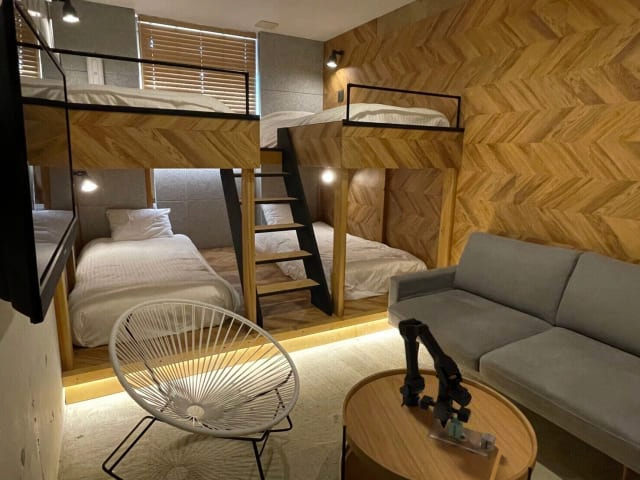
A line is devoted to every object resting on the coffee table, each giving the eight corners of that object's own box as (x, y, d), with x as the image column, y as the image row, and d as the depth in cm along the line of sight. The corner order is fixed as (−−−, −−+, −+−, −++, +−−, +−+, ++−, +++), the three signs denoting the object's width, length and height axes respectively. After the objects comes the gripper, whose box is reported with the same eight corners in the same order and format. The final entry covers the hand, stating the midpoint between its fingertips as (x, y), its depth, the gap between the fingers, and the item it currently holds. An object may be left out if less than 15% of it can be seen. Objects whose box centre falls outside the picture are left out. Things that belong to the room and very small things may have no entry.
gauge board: (426, 439, 168) (427, 428, 166) (436, 420, 178) (437, 409, 177) (490, 462, 156) (491, 450, 154) (497, 440, 166) (498, 429, 165)
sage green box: (448, 435, 167) (449, 422, 166) (451, 429, 170) (452, 416, 169) (459, 439, 165) (460, 425, 163) (462, 432, 168) (463, 419, 167)
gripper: (415, 395, 164) (413, 430, 168) (465, 411, 154) (462, 448, 158) (424, 381, 173) (423, 415, 177) (472, 395, 164) (470, 430, 167)
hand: (443, 427), depth 170 cm, fingers closed
